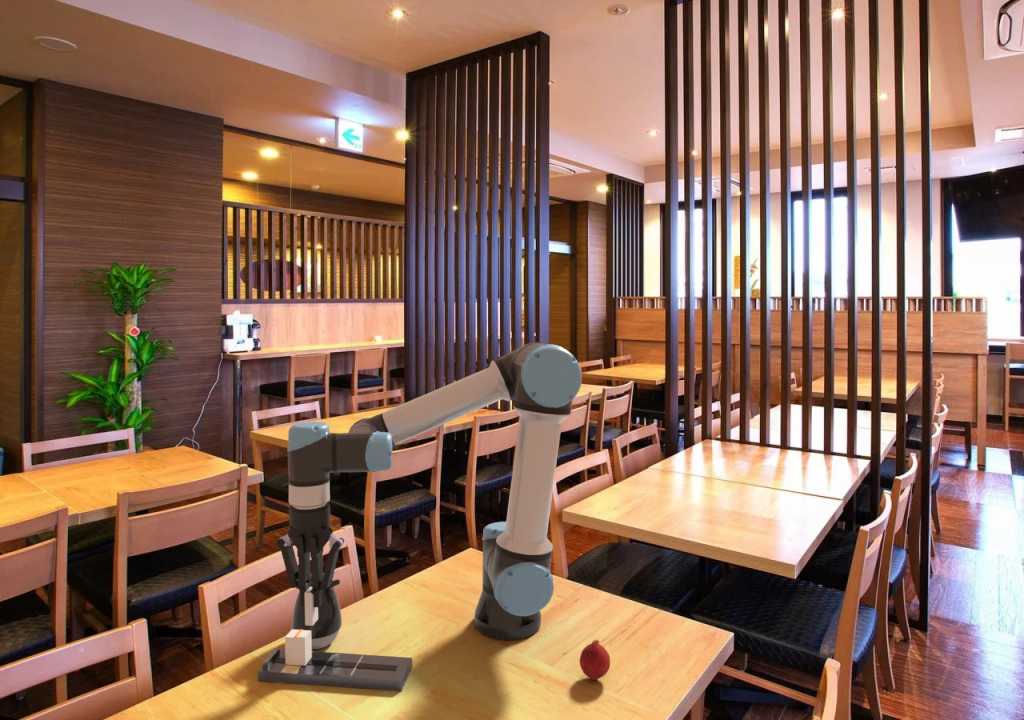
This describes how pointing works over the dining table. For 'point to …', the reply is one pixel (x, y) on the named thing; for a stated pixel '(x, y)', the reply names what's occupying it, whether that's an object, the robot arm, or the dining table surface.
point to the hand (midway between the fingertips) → (311, 622)
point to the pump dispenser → (321, 617)
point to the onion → (594, 660)
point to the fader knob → (298, 647)
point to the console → (339, 670)
